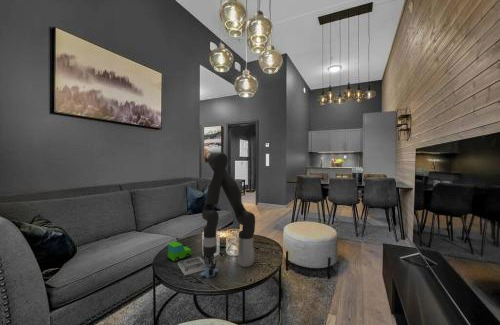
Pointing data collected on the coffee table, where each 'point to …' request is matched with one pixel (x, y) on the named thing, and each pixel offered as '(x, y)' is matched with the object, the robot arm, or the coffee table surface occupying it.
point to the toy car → (177, 251)
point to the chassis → (191, 265)
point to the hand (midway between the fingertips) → (209, 273)
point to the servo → (206, 271)
